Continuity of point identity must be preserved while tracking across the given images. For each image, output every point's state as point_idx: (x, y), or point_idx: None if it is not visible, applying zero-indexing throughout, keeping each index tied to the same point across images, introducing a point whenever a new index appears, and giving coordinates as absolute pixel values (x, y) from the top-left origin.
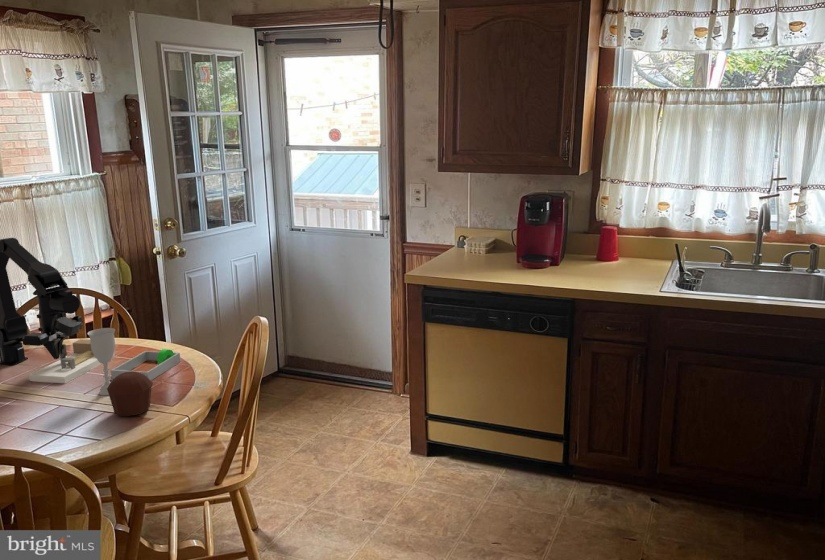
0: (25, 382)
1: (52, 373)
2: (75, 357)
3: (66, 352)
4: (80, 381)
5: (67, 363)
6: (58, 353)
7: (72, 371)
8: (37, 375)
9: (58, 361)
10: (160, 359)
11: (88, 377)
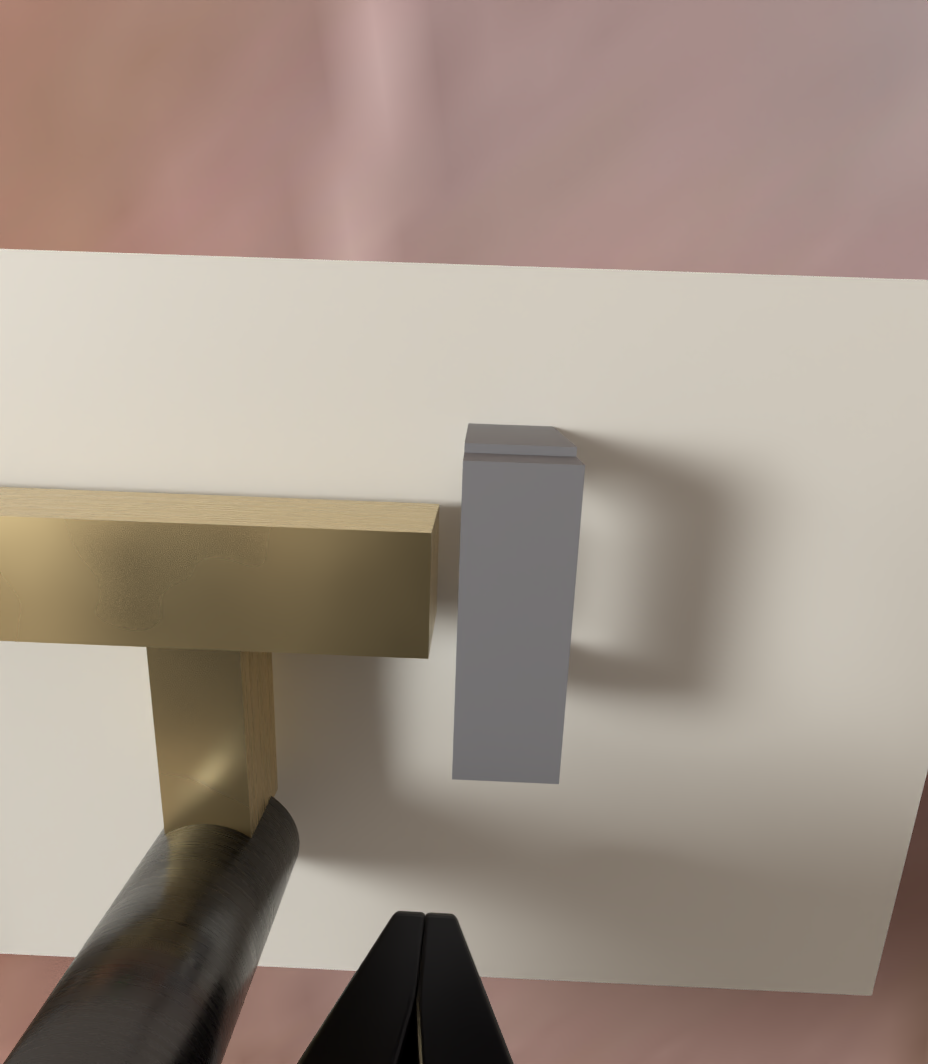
0: None
1: (816, 670)
2: (169, 621)
3: (114, 927)
4: (840, 58)
5: None
6: (403, 1017)
7: (692, 337)
8: (900, 860)
9: None
10: None
11: (615, 35)
